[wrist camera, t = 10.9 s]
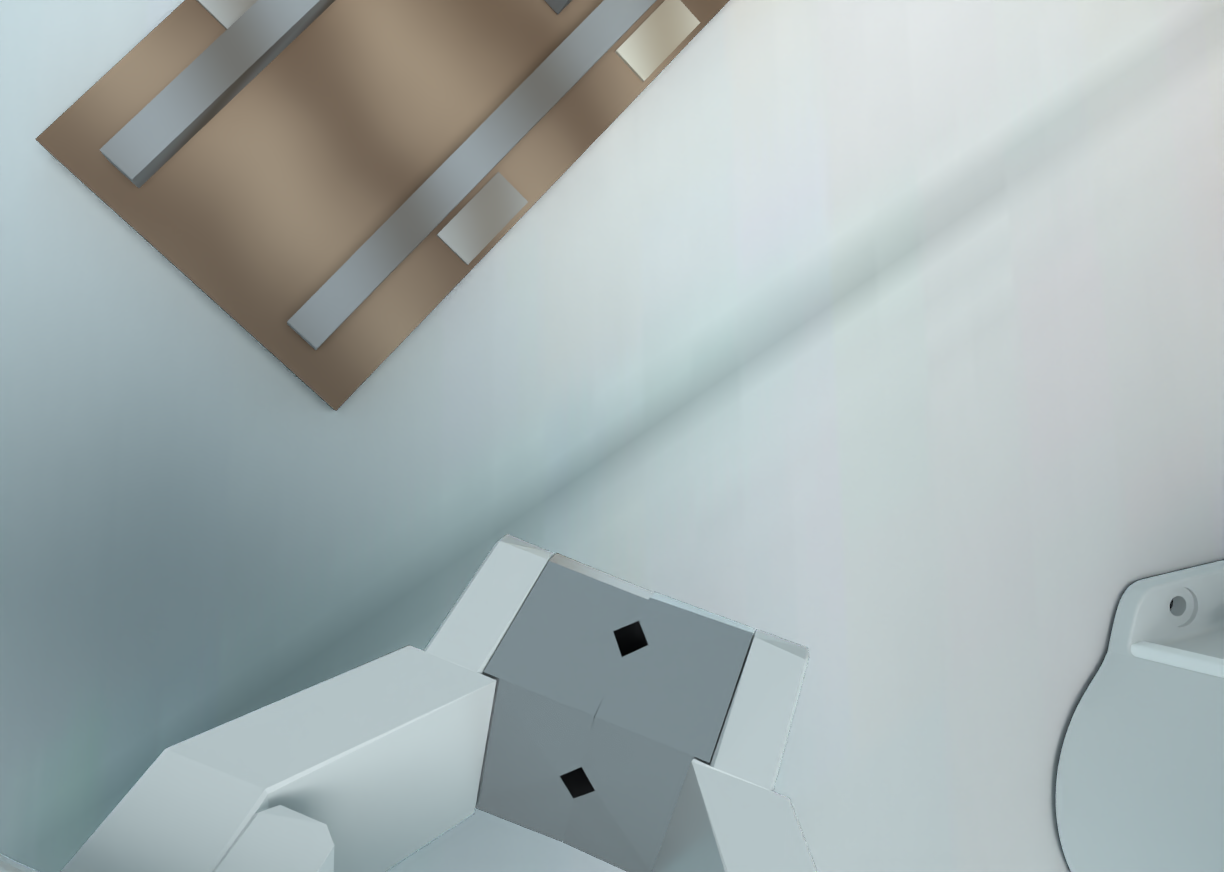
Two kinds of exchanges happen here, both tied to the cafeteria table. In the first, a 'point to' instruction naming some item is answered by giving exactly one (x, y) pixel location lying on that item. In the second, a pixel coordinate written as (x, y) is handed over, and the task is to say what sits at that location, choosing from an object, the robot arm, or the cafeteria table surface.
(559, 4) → the slider tab
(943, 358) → the cafeteria table surface
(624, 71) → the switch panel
